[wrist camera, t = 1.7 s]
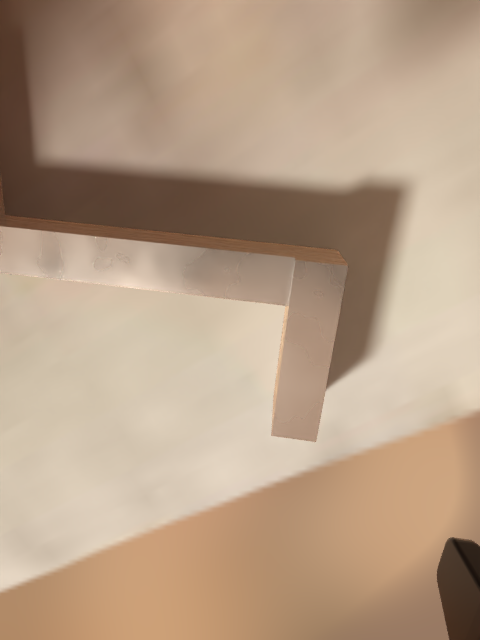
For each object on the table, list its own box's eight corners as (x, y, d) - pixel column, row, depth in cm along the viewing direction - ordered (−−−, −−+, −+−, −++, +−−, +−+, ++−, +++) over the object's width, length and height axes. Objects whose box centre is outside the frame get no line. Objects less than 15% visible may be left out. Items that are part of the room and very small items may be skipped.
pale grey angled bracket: (311, 400, 21) (316, 441, 18) (-12, 358, 22) (-63, 389, 19) (357, 129, 17) (375, 118, 13) (-51, 95, 18) (-126, 77, 14)
